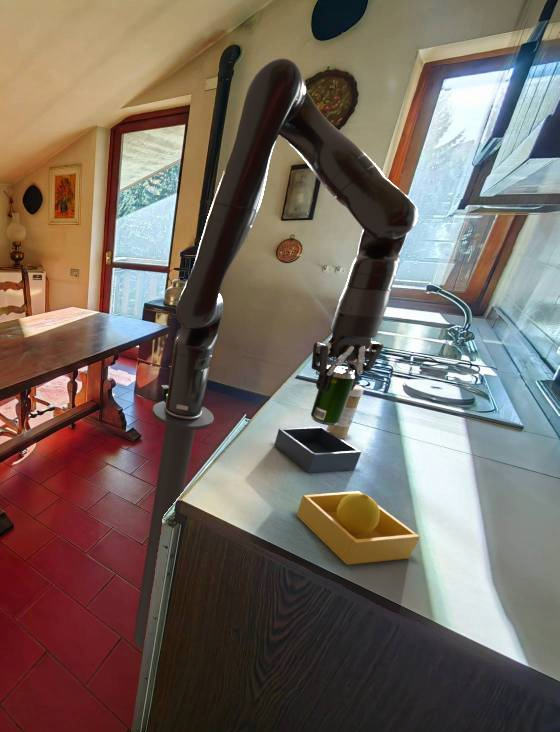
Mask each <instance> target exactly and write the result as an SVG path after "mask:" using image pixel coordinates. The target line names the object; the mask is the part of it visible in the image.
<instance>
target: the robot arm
mask: <svg viewBox="0 0 560 732" xmlns="http://www.w3.org/2000/svg"><path fill="white" fill-rule="evenodd" d="M306 85H307V84H306V81H305V77H304V75H303V72H302V70H301V68H300V67H299V66H298V65H297V64H296V62H294V61H293V60H291V59H289V58H284V57H283V58H282V57H281V58H276V59H273V60H271V61H269V62H268V63H266V64H265V65H264V66H262V67H261V68H260V69H259V70H258V72H257V73H256V74H255V75H254V77H253V78H252V79H251V82H250V84H249V86H247V90H246V94H245V97H244V102H243V105H242V110H241V114H240V118H239V121H238V122H239V123H238V127H237V132H236V136H235V139H234V143H233V146H232V149H231V152H230V155H229V156H228V157H229V158H228V160H227V163H226V165H225V167H224V171H223V173H222V176H221V179H220V182H219V185H218V187H217V190H216V193H215V195H214V198H213V201H212V204H211V207H210V210H209V213H208V216H207V219H206V223H205V226H204V229H203V233H202V236H201V240H200V242H199V246H198V249H197V253H196V257H195V261H194V264H193V267H192V269H191V272H190V274H189V276H188V279H187V281H186V283H185V286H184V288H183V290H182V292H181V295H180V296H179V298H178V301H177V304H176V308H175V309H176V310H175V311H176V317H177V320H178V322H179V323H180V325H181V327H180V330H179V333H178V335H177V337H176V339H175V341H174V345H173V351H172V352H173V353H172V359H171V360H172V361H171V365H170V366H171V367H170V374H169V378H168V383H167V384H161V385H160V391H159V393H160V394H161V395H162V398H163V401H164V402H165V403H166V404H165V412H166V413H167V414H168V415H169V416H171V417H173V418H176V419H180V420H196V419H199V418H200V417H201V413H202V407H203V404H204V400H205V395H206V390H207V384H208V378H209V373H210V369H211V364H212V363H211V362H212V356H213V352H214V348H215V345H216V343H217V340H218V337H219V331H220V326H221V322H222V318H223V313H224V312H223V311H224V299H223V297H222V295H221V294H220V293H221V290H222V287H223V285H224V280H225V278H226V276H227V274H228V271H229V269H230V267H231V266H232V264H233V262H234V261H235V259H236V258H237V256H238V254H239V253H240V250H241V249H242V247H243V246H244V244H245V242H246V240H247V238H248V237H249V234H250V232H251V229H252V227H253V225H254V222H255V219H256V217H257V214H258V211H259V209H260V206H261V203H262V199H263V196H264V191H265V186H266V183H267V182H266V181H267V176H268V170H269V165H270V160H271V156H272V153H273V149H274V147H275V144H276V141H277V140H278V137H280V138H282V139H283V140H284V141H286V143H288V145H290V146H291V147H292V148H293V149H294V150H295V151H296V153H298V154H299V156H300V157H301V158H302V160H303V161H304V162H305V163H306V165H307V166H308V168H309V169H310V170H311V172H312V173H313V174H314V176H315V177H316V178H317V180H318V181H319V182H320V183H321V184H322V185H323V186H324V188H326V190H327V191H328V193H330V194H331V196H333V197H334V199H335V200H336V201H337V202H339V204H341V205H342V206H343V207H345V208H346V209H347V210H348V211H349V213H350V214H351V216H352V217H353V218H354V219H355V221H356V222H357V223H358V224H359V226H360V227H361V229H362V232H361V235H360V239H359V243H358V247H357V251H356V256H355V258H354V259H353V261H352V263H351V266H350V269H349V273H348V275H347V278H346V282H345V285H344V288H343V290H342V293H341V295H340V298H339V300H338V303H337V307H336V310H335V313H334V317H333V318H332V319H333V320H332V322H331V326H330V332H331V337H330V338H329V339H328V340H327V342H322V343H321V342H317V341H316V342H315V343H314V344H313V348H312V359H311V370H313V371H316V372H318V373H319V374H318V377H317V380H316V383H315V387H316V389H317V391H318V390H320V391H322V392H327V391H328V388H329V385H330V382H331V379H332V376H331V375H332V374H333V372H334V371H335V369H336V368H337V367H339V366H342V365H343V363H344V362H346V363H347V364H346V365H347V368H350V369H352V370H354V371H355V379H354V382H353V385H352V388H351V390H353V388H354V387H355V386H356V385H357V383H358V379H359V377H360V375H362V374H363V373H364V372H370V371H371V370H372V369H373V367H374V365H375V363H376V362H377V359H378V358H379V356H380V354H381V352H382V351H383V348H384V344H383V343H380V342H376V341H373V340H372V339H373V338H376V337H377V335H378V333H379V329H380V327H381V324H382V321H383V318H384V317H385V313H386V310H387V307H388V304H389V301H390V295H391V292H392V291H391V290H392V288H393V285H394V282H395V279H396V277H397V274H398V270H399V266H400V256H401V254H402V251H403V248H404V245H405V243H406V241H407V238H408V236H409V232H410V231H412V229H413V228H414V226H415V225H416V223H417V221H418V217H419V213H418V212H419V211H418V208H417V206H416V205H415V203H414V202H413V201H412V200H411V199H410V197H408V195H406V194H405V192H403V191H402V190H401V189H400V188H398V187H397V186H396V185H395V184H393V183H392V182H391V181H390V180H389V179H387V178H386V177H385V175H384V173H383V172H382V170H381V169H380V168H379V167H378V165H376V163H374V161H372V159H371V158H370V157H369V156H368V155H367V154H366V152H364V151H363V150H362V149H361V148H360V146H358V145H357V144H356V143H355V142H354V141H352V139H350V138H349V137H348V136H347V135H345V134H344V133H343V132H342V131H340V130H339V129H338V128H337V127H335V125H333V124H332V123H331V122H330V121H329V120H328V119H327V117H325V115H324V114H323V113H322V112H321V111H320V109H319V107H318V106H317V105H316V103H315V101H314V99H313V98H312V96H311V94H310V93H309V90H308V89H307V87H306ZM333 359H335V360H333ZM367 360H368V361H367ZM328 366H330V367H329V368H328V369H327V367H328Z"/></svg>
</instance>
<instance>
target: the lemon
mask: <svg viewBox="0 0 560 732" xmlns="http://www.w3.org/2000/svg"><path fill="white" fill-rule="evenodd" d="M361 493H362V492H361ZM361 493H353V494H349V495H347V496H345V497H344V498H343V499H342V500H341V502H340V503H339V505H338V507H337V519H338V522H339V523H340V525H341V526H342V527H343V528H344V529H345V530H347V531H348V532H349V533H354V534H367V533H369V532H371V531H373V530H374V529H375V527H376V526H377V525H378V522H379V518H380V509H379V507H378V506H379V505H378V503H377V502H376V501H375V500H374V499H373V498H372V497H370V496H369V495H368V494H366V493H362V494H361Z"/></svg>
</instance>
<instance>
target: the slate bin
mask: <svg viewBox="0 0 560 732" xmlns="http://www.w3.org/2000/svg"><path fill="white" fill-rule="evenodd" d="M326 429H327V428H324V427H323V426H308V427H287V428H278V430H277V434H276V437H275V441H274V444H273V446H274V447H275V448H277V449H278V450H279V451H281V453H283V454H284V455H285V456H287V457H288V458H289V459H290V460H291V461H293V462H294V463H295V464H296V465H298V466H299V467H300V468H301V469H303V470H304V471H305V472H307V474H312V473H327V472H340V471H341V472H342V471H343V472H344V471H355V470H356V468H357V465H358V462H359V460H360V457H361V454H362V451H360V450H359V449H358V448H356V447H355V446H353V445H351V444H350V443H348V442H347V441H345V440H343V438H339V437H337V436H335V435H334V434H332V433H331V432H329V431H328V430H326Z"/></svg>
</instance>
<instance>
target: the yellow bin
mask: <svg viewBox="0 0 560 732" xmlns="http://www.w3.org/2000/svg"><path fill="white" fill-rule="evenodd" d="M353 493H361V494H363V493H362V492H361V491H359V490H354V491H353V490H352V491H342V492H339V491H338V492H330V493H327V492H326V493H315V494H303V495H302V497H301V500H300V503H299V506H298V510H297V512H296V517H297V518H299V519H300V521H301V522H303V524H304V525H305V526H306V527H308V528H309V530H311V531H312V532H313V533H314V535H316V536H317V537H318V538H319V540H321V541H322V542H323V543H324V544H325V545H326V546H327V548H329V549H330V550H331V551H332V552H333V553H334V554H335V555H336V556H337V557H338V558H339V559H340V560H341V561H342V562H343V563H344V564H345V565H357V564H358V565H359V564H367V563H377V562H378V563H379V562H388V561H398V560H407V559H410V558H411V555H412V553H413V552H414V550H415V548H416V547H417V543H418V542H419V540H420V538H421V536H420V535H419V534H417V533H416V532H415V531H413V530H412V529H411V528H410V527H408V526H407V525H406V524H404V523H403V522H402V521H400V520H399V519H398V518H396V517H395V516H393V515H392V514H390V513H389V512H388V511H387V510H385V509H384V508H383V507H382V506H380V505H378V507H379V509H380V518H379V522H378V525H377V526H376V527H375V529H374V530H373V531H371V532H369V533H367V534H354V533H349V532H348V531H347V530H345V529H344V528H343V527H342V526H341V525H340V523H339V522H338V519H337V507H338V505H339V503H340V502H341V500H342V499H343V498H344V497H345V496H347V495H349V494H353Z"/></svg>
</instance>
